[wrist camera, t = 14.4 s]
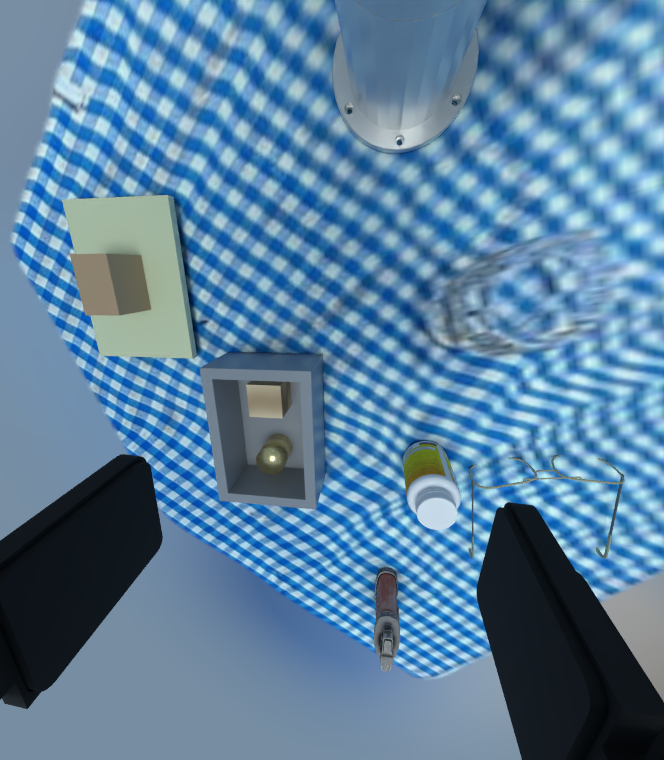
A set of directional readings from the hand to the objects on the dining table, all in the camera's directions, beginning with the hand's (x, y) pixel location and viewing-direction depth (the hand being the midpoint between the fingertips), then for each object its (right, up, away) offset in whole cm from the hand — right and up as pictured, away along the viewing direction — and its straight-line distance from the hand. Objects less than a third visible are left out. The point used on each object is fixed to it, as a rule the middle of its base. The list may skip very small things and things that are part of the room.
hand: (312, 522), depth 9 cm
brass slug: (-6, -5, +35) cm, 36 cm away
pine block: (-7, +3, +32) cm, 33 cm away
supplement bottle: (+12, -6, +34) cm, 36 cm away
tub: (-6, -1, +34) cm, 35 cm away
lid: (-22, +16, +32) cm, 42 cm away
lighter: (+9, -28, +42) cm, 51 cm away
